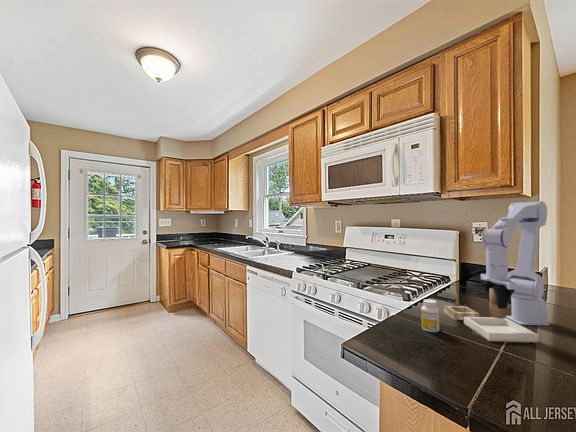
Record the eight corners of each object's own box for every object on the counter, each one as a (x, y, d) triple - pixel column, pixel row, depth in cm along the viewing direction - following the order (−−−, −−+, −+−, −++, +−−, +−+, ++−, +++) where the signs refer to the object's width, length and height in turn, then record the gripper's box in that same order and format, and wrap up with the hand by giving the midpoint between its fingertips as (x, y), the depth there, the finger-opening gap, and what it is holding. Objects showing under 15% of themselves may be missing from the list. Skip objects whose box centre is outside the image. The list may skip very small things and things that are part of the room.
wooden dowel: (499, 314, 92) (499, 287, 92) (507, 318, 88) (507, 290, 88) (487, 314, 92) (486, 287, 92) (494, 318, 88) (493, 290, 88)
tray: (505, 324, 96) (505, 317, 96) (538, 342, 82) (538, 334, 82) (464, 323, 98) (463, 316, 98) (488, 341, 84) (488, 332, 84)
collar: (466, 312, 109) (466, 306, 109) (479, 320, 101) (479, 313, 101) (444, 312, 110) (444, 305, 110) (454, 319, 101) (454, 313, 101)
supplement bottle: (427, 325, 97) (426, 297, 97) (442, 330, 92) (442, 301, 92) (418, 328, 94) (417, 300, 94) (434, 333, 89) (433, 304, 89)
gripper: (471, 261, 98) (472, 299, 98) (498, 268, 83) (499, 313, 83) (492, 261, 97) (492, 299, 97) (523, 269, 83) (524, 313, 83)
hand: (497, 306), depth 90 cm, fingers closed on wooden dowel, 4 cm apart
